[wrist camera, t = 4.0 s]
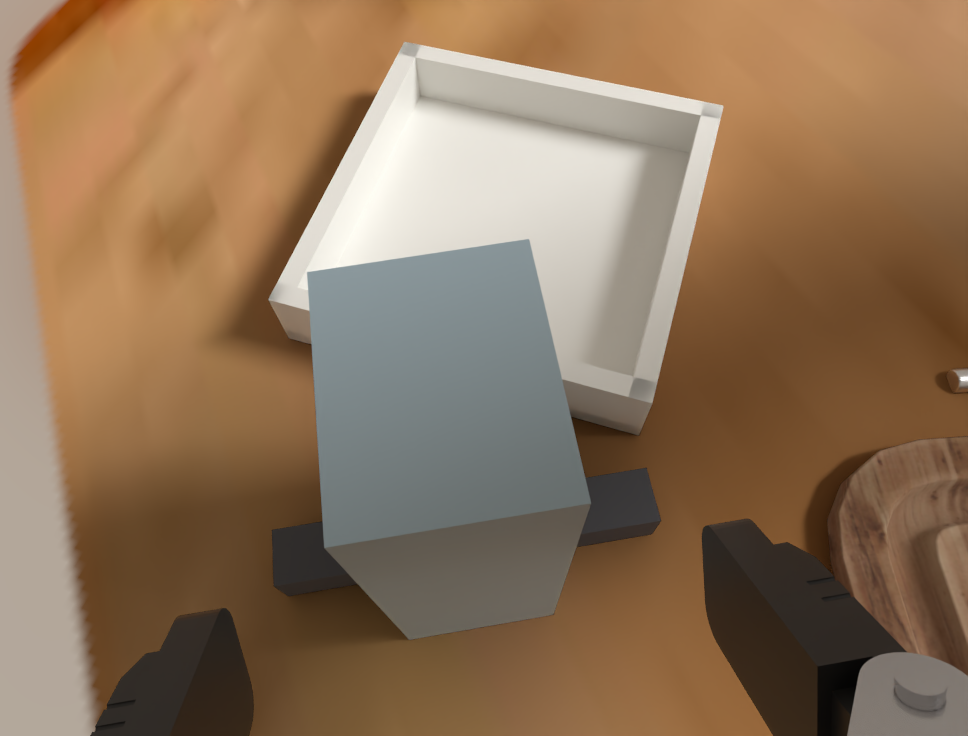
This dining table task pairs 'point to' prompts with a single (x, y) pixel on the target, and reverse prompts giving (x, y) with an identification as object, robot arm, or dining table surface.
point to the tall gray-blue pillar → (445, 437)
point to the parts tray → (527, 205)
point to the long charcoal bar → (612, 516)
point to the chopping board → (909, 541)
